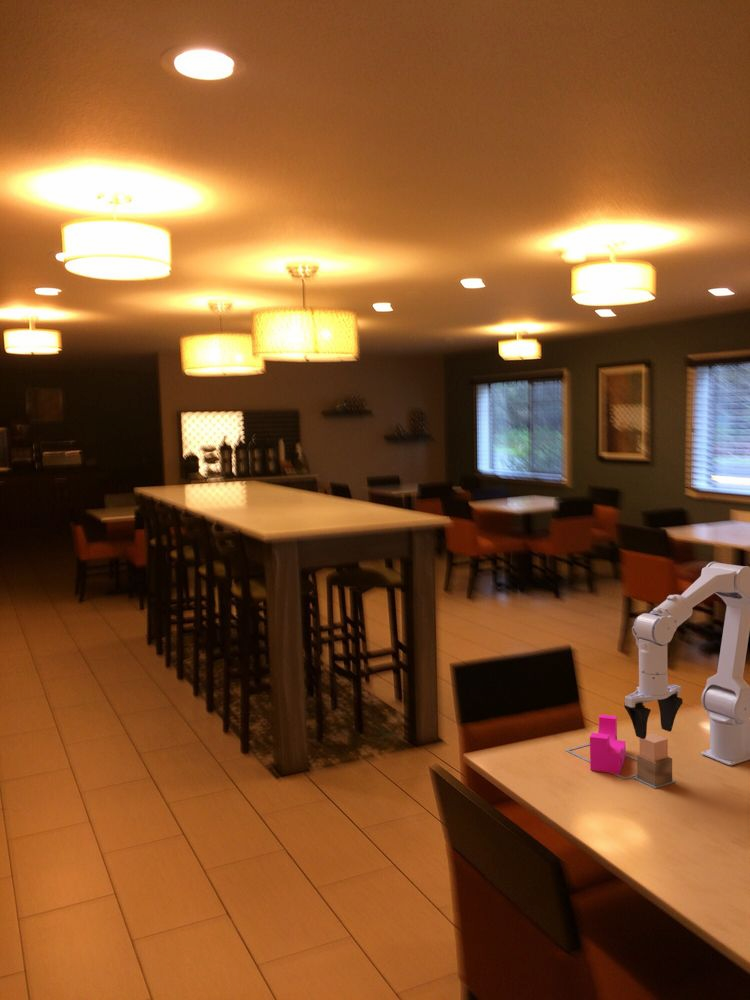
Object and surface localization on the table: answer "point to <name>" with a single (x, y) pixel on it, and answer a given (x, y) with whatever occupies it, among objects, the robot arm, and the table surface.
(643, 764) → the walnut cube
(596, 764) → the toy block
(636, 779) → the frame
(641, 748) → the terracotta block
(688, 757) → the table surface
